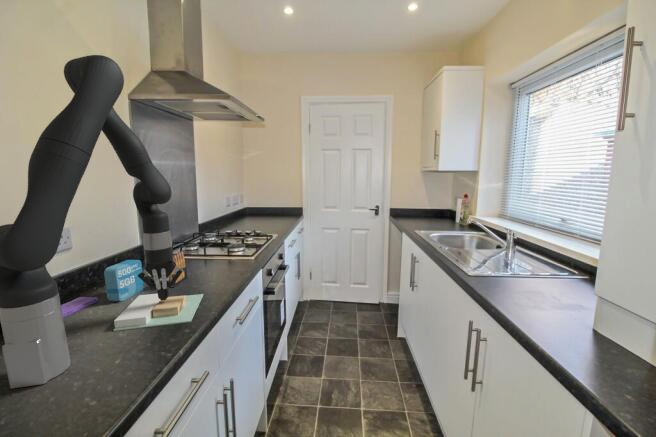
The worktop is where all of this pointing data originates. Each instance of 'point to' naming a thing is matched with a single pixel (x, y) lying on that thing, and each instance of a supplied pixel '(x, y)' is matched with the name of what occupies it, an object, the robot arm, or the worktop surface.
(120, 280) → the data package
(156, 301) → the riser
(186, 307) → the mat
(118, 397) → the worktop surface
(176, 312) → the coaster
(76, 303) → the sponges
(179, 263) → the ammunition clip
